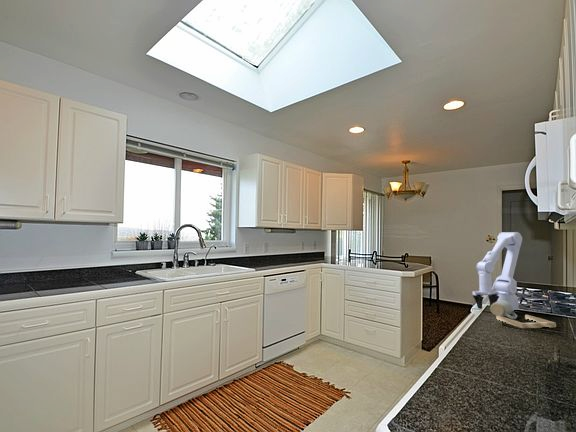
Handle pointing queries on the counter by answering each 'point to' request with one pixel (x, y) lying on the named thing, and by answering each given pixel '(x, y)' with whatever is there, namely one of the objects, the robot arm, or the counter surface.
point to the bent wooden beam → (540, 323)
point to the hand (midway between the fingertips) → (486, 308)
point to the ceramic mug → (502, 309)
